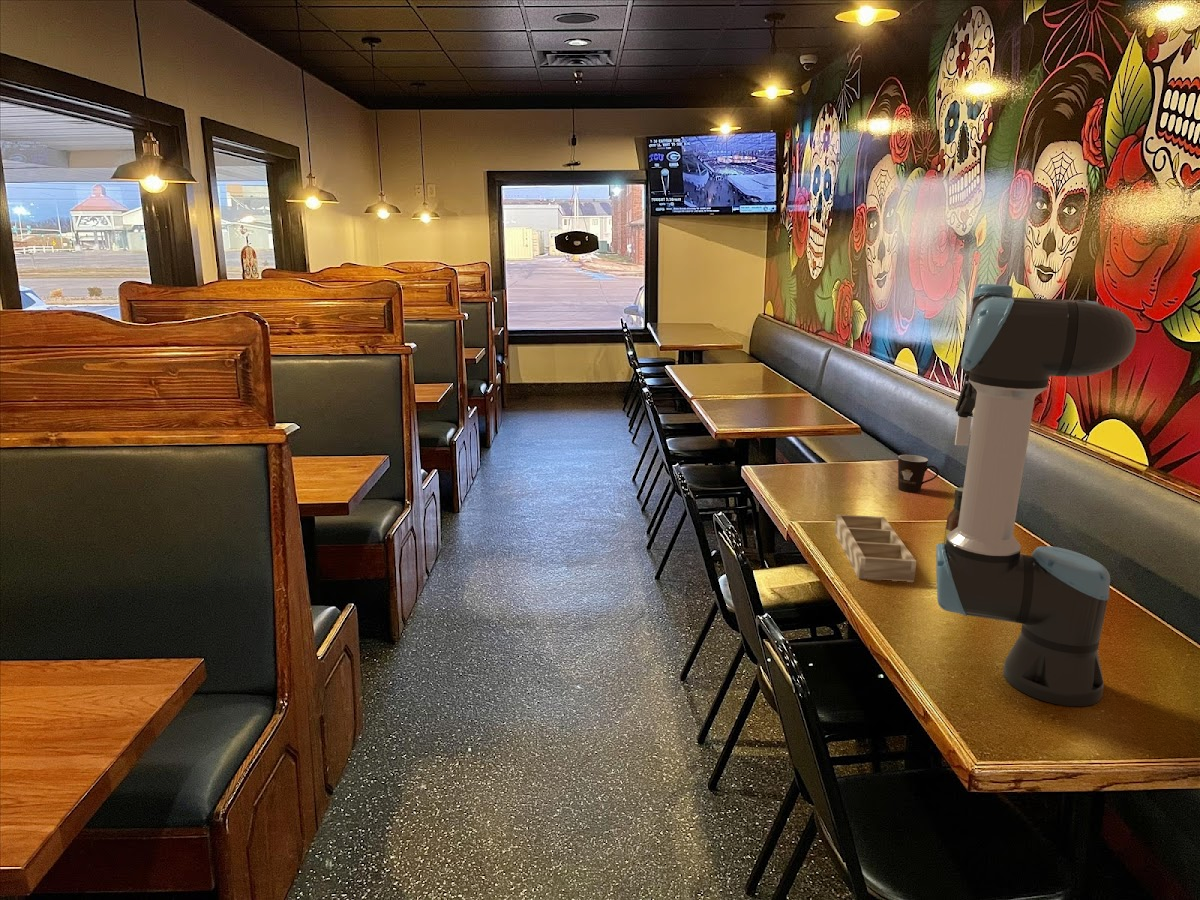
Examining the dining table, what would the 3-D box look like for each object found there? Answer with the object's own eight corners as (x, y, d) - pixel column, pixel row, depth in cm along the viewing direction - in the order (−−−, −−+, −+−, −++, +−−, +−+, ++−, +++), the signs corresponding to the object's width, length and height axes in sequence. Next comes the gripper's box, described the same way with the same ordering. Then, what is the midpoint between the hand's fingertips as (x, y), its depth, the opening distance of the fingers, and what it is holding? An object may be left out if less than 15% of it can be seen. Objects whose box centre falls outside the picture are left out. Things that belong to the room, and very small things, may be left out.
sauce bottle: (971, 579, 189) (984, 495, 184) (942, 576, 190) (954, 493, 186) (965, 568, 195) (977, 487, 191) (937, 566, 197) (948, 484, 192)
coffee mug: (888, 487, 260) (892, 456, 258) (909, 484, 264) (913, 453, 261) (916, 497, 250) (920, 465, 248) (937, 494, 254) (942, 463, 251)
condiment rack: (913, 582, 187) (916, 561, 185) (858, 579, 188) (861, 558, 186) (881, 535, 217) (884, 517, 215) (834, 532, 218) (836, 514, 216)
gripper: (1025, 366, 168) (1009, 468, 174) (982, 350, 192) (969, 440, 198) (986, 364, 169) (972, 466, 174) (948, 349, 193) (937, 438, 198)
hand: (970, 452), depth 186 cm, fingers open, 13 cm apart
